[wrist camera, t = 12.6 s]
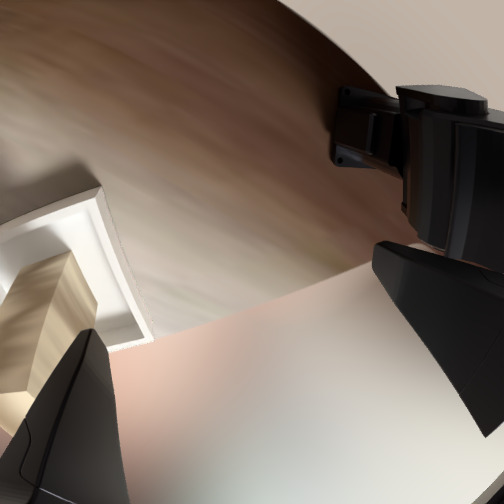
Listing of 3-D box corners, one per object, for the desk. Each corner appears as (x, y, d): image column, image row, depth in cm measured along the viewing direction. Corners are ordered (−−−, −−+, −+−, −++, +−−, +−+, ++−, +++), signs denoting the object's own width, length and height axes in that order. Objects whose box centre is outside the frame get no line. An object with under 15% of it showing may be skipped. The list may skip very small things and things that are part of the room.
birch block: (71, 250, 18) (26, 390, 8) (97, 303, 21) (86, 442, 11) (21, 267, 17) (-35, 395, 7) (49, 316, 20) (23, 444, 10)
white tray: (101, 185, 17) (95, 197, 15) (152, 320, 24) (154, 341, 22) (-23, 236, 15) (-37, 251, 13) (41, 346, 21) (36, 366, 19)
